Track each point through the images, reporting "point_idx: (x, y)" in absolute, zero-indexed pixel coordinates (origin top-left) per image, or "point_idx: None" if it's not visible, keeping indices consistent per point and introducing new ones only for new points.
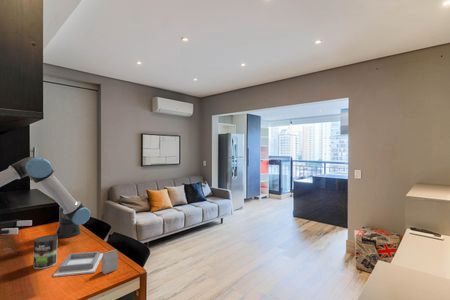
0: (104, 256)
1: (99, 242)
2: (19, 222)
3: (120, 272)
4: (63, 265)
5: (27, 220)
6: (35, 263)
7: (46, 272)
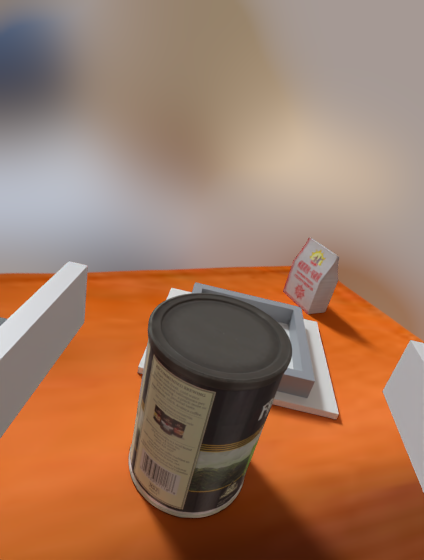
0: (336, 265)
1: (14, 280)
2: (9, 369)
3: None
4: (304, 369)
5: (44, 285)
6: (240, 479)
7: (288, 445)
